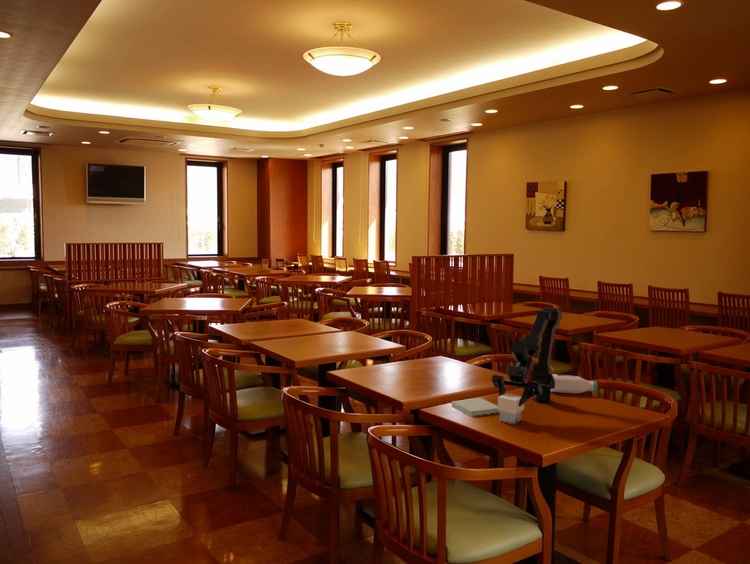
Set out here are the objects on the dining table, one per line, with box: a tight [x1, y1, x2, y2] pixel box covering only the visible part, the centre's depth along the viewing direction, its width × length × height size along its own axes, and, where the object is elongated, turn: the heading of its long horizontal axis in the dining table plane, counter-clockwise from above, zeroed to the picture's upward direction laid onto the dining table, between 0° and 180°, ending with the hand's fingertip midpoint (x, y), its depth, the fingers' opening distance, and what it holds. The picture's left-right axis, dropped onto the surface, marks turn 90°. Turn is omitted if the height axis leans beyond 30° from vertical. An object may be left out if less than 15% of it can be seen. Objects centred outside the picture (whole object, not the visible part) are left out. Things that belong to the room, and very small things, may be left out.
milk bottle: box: [550, 374, 599, 395], centre depth 269 cm, size 8×8×20 cm
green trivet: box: [451, 397, 500, 417], centre depth 242 cm, size 14×14×2 cm
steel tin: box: [498, 411, 522, 425], centre depth 228 cm, size 6×6×8 cm
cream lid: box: [497, 392, 525, 414], centre depth 228 cm, size 7×7×5 cm
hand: (509, 403), depth 227 cm, fingers closed on cream lid, 7 cm apart
